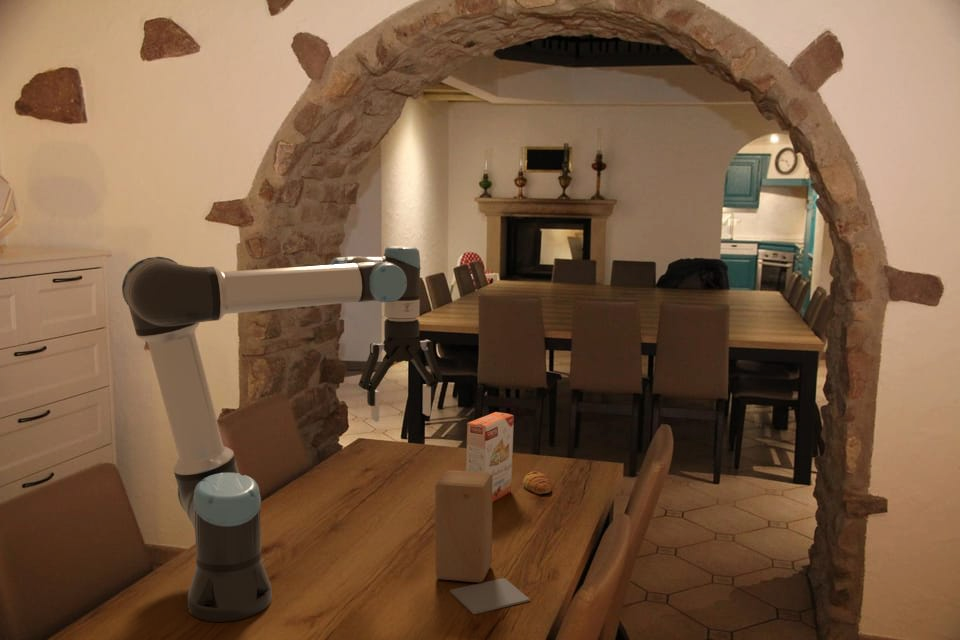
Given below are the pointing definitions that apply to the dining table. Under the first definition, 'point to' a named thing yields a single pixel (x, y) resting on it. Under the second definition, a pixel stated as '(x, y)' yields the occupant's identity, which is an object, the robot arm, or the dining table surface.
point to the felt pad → (489, 595)
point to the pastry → (537, 482)
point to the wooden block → (463, 526)
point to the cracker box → (492, 450)
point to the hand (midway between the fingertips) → (401, 417)
